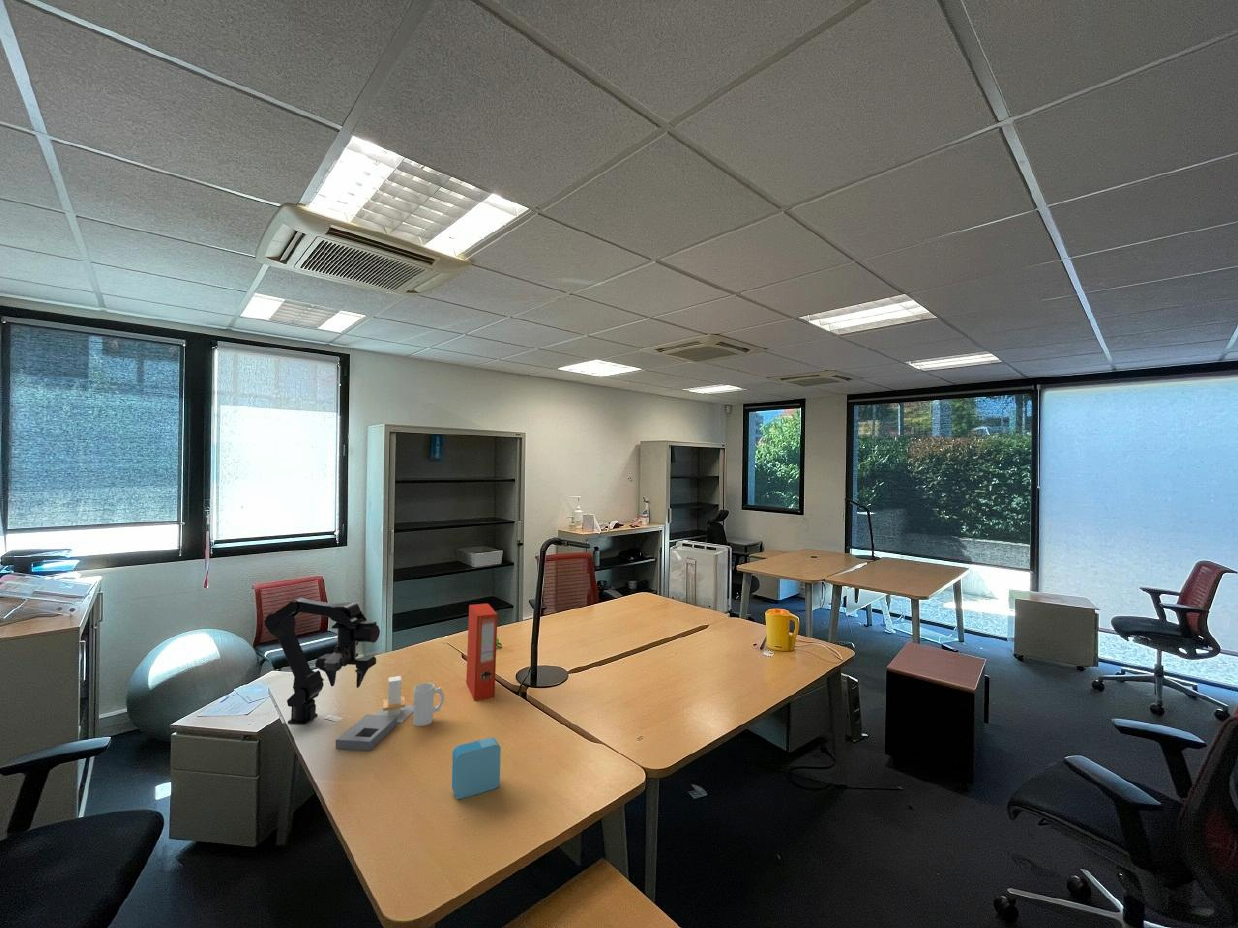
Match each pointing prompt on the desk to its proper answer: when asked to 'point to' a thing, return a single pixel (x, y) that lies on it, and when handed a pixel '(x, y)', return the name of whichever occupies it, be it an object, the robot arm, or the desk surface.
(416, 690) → the mug
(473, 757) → the data package
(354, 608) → the robot arm
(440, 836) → the desk surface
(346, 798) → the desk surface
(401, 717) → the mat
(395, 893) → the desk surface
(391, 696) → the white and tan block
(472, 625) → the file binder
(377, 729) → the gray slab with hole
